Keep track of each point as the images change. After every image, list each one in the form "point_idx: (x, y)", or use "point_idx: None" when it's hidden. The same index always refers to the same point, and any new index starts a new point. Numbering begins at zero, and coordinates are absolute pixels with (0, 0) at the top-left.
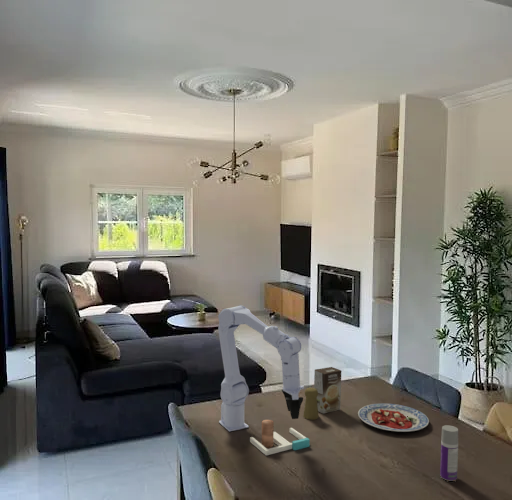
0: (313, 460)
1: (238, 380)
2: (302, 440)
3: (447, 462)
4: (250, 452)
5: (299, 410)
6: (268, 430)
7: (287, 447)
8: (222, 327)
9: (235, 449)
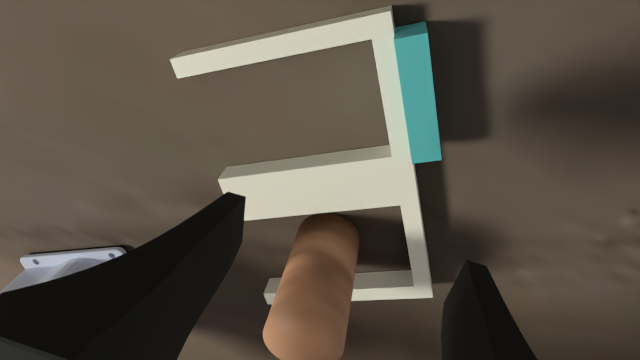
0: (621, 78)
1: None
2: (424, 93)
3: None
4: (375, 318)
5: (524, 339)
6: (348, 319)
7: (416, 179)
8: None
9: None
